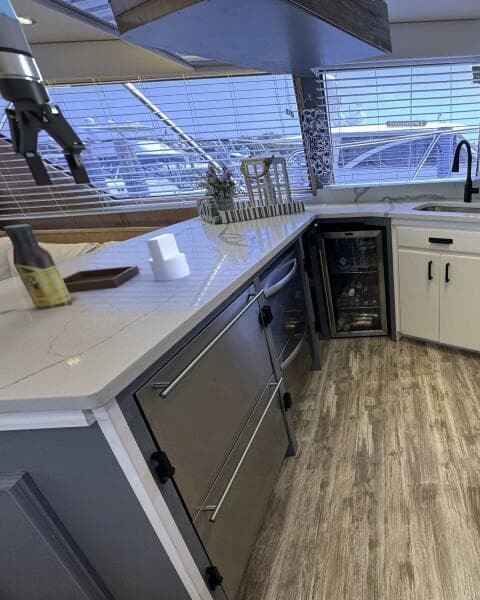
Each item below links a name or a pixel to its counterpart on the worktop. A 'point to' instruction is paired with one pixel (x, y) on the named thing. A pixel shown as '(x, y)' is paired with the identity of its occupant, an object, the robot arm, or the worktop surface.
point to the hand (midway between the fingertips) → (64, 184)
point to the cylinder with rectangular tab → (166, 258)
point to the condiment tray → (99, 278)
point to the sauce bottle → (37, 269)
